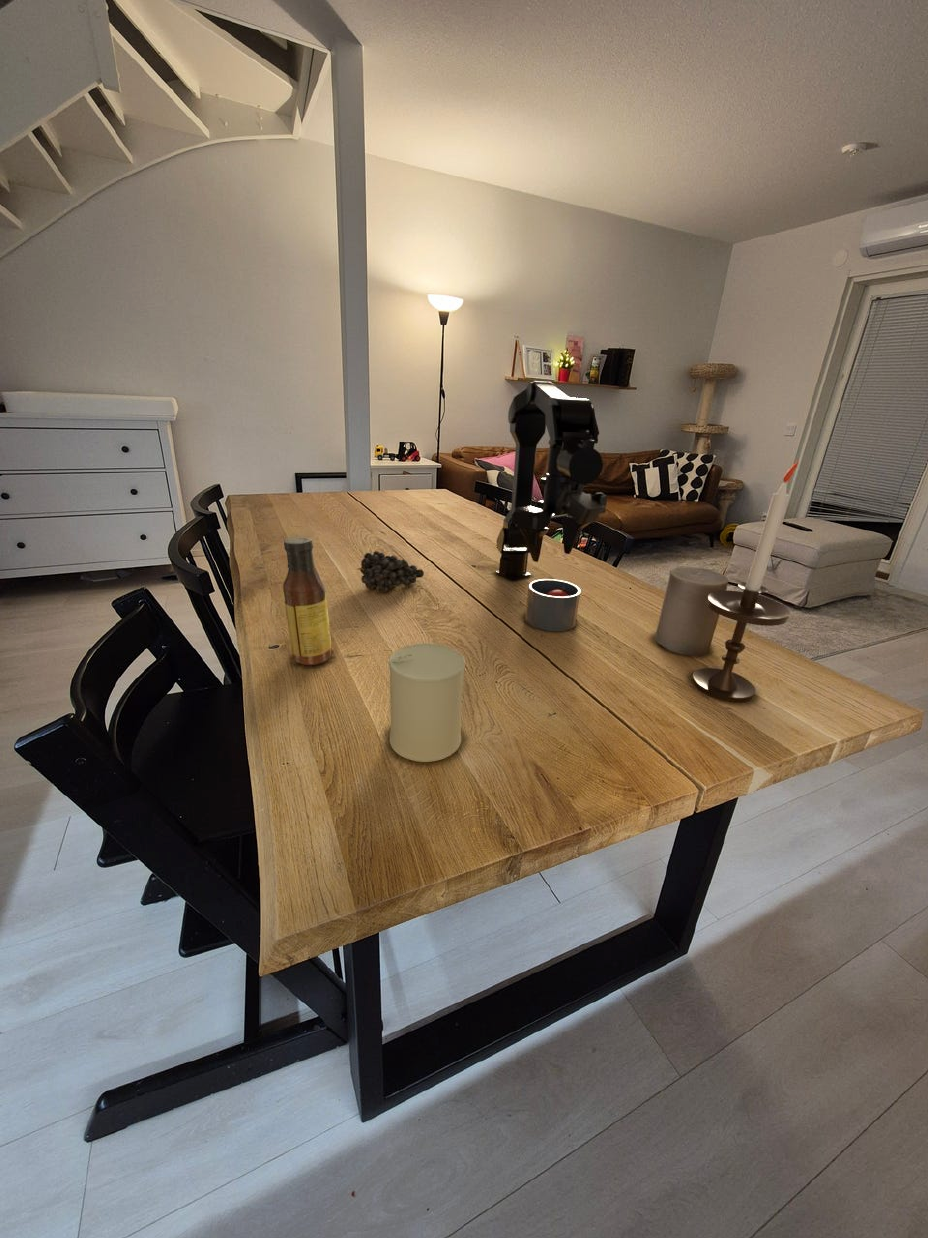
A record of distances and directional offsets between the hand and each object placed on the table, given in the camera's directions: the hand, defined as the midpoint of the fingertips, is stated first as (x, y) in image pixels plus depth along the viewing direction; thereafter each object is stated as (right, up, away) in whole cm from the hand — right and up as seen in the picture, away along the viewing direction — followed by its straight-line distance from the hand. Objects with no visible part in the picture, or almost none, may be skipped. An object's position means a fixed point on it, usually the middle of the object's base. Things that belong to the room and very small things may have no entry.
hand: (551, 557), depth 97 cm
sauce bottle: (-42, -18, -14) cm, 48 cm away
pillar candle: (+24, -17, -3) cm, 29 cm away
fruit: (-33, -5, +16) cm, 37 cm away
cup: (0, -12, +4) cm, 13 cm away
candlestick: (+24, -23, -17) cm, 37 cm away
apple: (0, -11, +3) cm, 12 cm away
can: (-22, -27, -32) cm, 48 cm away
